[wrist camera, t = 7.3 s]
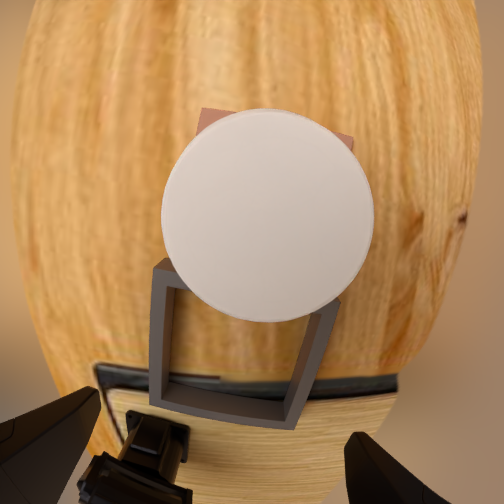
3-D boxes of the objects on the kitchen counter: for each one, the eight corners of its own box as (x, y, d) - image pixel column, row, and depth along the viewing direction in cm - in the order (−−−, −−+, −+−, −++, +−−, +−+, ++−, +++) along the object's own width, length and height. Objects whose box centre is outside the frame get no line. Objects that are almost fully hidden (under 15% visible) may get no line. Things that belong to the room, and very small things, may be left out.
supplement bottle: (324, 234, 19) (422, 324, 7) (225, 257, 20) (173, 380, 7) (301, 134, 18) (375, 53, 5) (200, 158, 18) (93, 122, 6)
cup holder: (291, 410, 23) (293, 430, 21) (157, 386, 23) (149, 404, 21) (332, 288, 21) (340, 302, 18) (165, 257, 20) (153, 267, 18)
